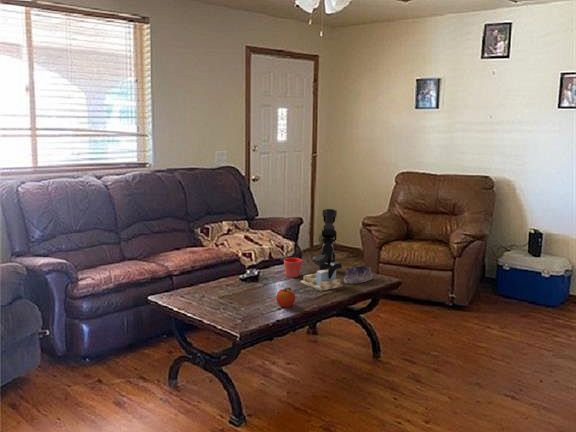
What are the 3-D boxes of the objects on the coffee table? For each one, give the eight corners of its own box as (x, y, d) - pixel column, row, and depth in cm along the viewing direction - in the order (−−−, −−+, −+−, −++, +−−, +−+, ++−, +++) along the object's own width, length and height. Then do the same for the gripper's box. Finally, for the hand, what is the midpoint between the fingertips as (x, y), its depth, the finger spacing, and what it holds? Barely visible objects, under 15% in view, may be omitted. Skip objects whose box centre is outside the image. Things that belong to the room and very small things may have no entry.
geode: (356, 287, 333) (354, 269, 332) (339, 285, 341) (338, 268, 340) (376, 279, 348) (375, 262, 347) (360, 277, 356) (359, 261, 354)
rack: (322, 278, 347) (322, 271, 346) (342, 286, 333) (343, 279, 332) (300, 282, 337) (300, 275, 337) (321, 290, 323) (321, 283, 323)
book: (330, 281, 337) (331, 268, 336) (335, 283, 334) (336, 269, 333) (315, 284, 330) (316, 270, 329) (320, 286, 327) (321, 272, 326)
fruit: (286, 301, 303) (286, 282, 301) (298, 306, 296) (299, 287, 294) (271, 305, 297) (272, 286, 295) (284, 310, 290) (285, 290, 288)
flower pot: (280, 277, 346) (281, 260, 344) (286, 272, 357) (286, 256, 355) (298, 279, 343) (298, 263, 341) (303, 274, 354) (304, 258, 352)
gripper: (305, 248, 331) (304, 275, 334) (327, 255, 317) (326, 283, 319) (320, 246, 338) (319, 272, 341) (343, 253, 323) (341, 280, 326)
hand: (326, 277), depth 331 cm, fingers open, 5 cm apart
